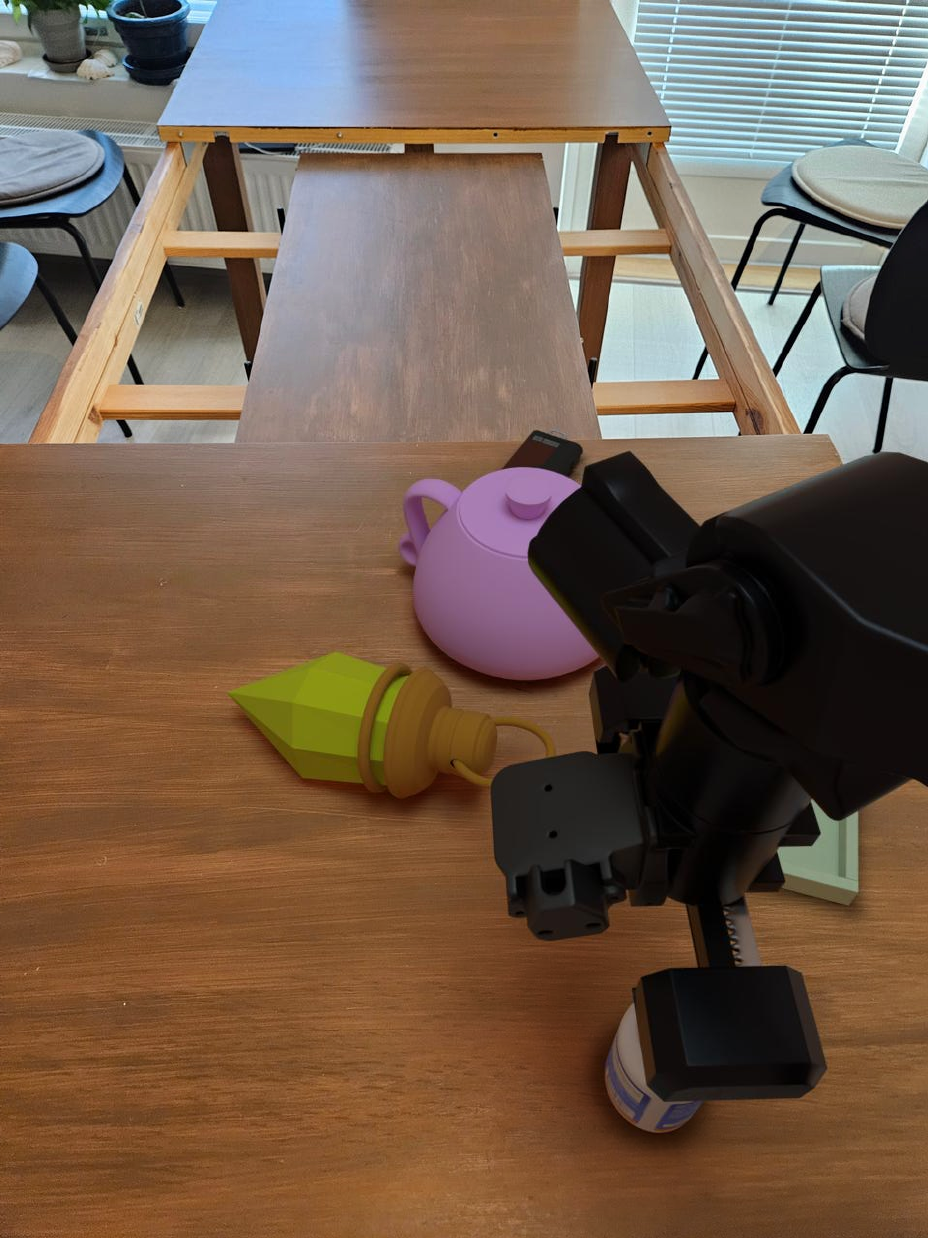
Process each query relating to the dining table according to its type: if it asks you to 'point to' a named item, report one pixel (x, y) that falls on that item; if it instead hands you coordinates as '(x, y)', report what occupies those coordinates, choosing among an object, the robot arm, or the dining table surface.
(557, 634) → the teapot
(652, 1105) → the pill bottle
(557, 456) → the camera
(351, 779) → the plumb bob
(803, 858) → the tray
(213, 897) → the dining table surface
